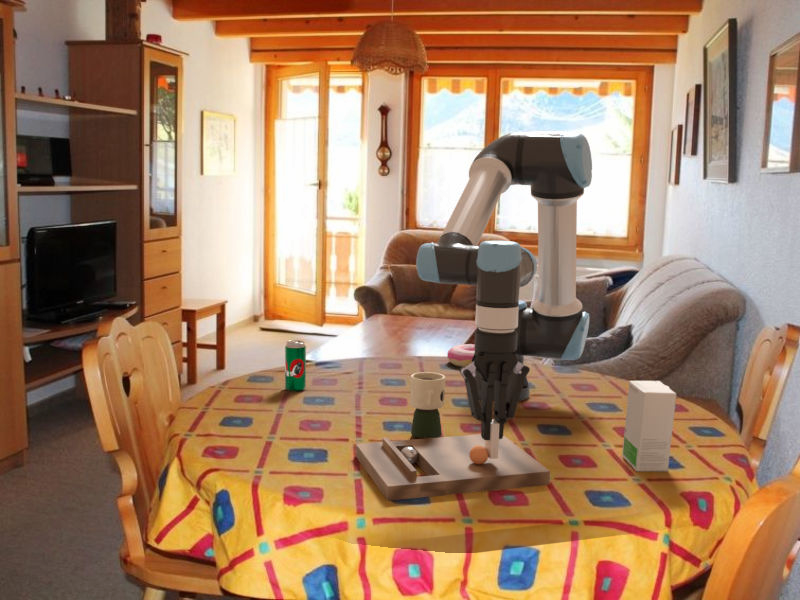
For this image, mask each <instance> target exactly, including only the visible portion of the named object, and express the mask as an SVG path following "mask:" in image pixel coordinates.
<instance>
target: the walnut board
mask: <svg viewBox="0 0 800 600" xmlns="http://www.w3.org/2000/svg"><path fill="white" fill-rule="evenodd" d="M477 445H480V446H483V447H485V440H484V439H483V438H482V437H481V433H479V434H467V435H454V436H453V435H451V436H440V437H438V438H418V439H417V438H416V439H401V440H390V438H388V437H382V441H377V442H376V441H375V442H363V443H362V442H361V443H355V457H356V459H357V460H358V461H359V463H360V464H361V466H362V468H364V470H365V471H366V473H367V474H368V475H369V477H370V478H371V480H372V481H373V482H374V484H375V486H376V487H377V488H378V489H379V491H380V492H381V493H382V495H383V496H384V498H385V499H386V500H387V501H399V500H408V499H417V498H418V499H419V498H429V497H430V498H431V497H436V496H449V495H450V496H451V495H459V494H460V495H461V494H468V493H478V492H480V493H481V492H486V491H487V492H488V491H490V492H491V491H499V490H508V489H519V488H526V487H527V488H529V487H539V486H548V485H550V483H551V482H550V481H551V479H550V478H551V470H549V469H548V468H547V467H545V466H544V465H542V463H540V461H537V460H536V459H535V458H534V457H532V456H531V455H530V454H528V453H527V452H526V451H524V450H523V449H522V448H521V447H519V446H518V445H517V444H516V443H514V442H513V441H512V440H510V439H509V438H508V437H506V436H505V435H504V434H503V438H502V439H499V447H498V458H497V459H490V458H489V457H488V459H487V461H486V462H485V463H483V464H475V463H473V462H472V461H471V459H470V455H469V454H470V450H471V449H472V448H473V447H474V446H477ZM405 447H412V448H414V449H415V450H416V451H417V453H418V459H417V461H416V462H415V464H417V465H418V466H419V467H420V469H422V471H423V472H424V473H425V475H422V476H418V475H417V473H418V471H417V469H416V468H415V467H414V466H413V464H412V465H411V464H410V462H409V461H408V460H407V459H406V458H405V457H404V456H403V454H402V453H401V451H402V449H404V448H405Z"/></svg>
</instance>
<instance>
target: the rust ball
mask: <svg viewBox="0 0 800 600" xmlns="http://www.w3.org/2000/svg"><path fill="white" fill-rule="evenodd" d="M469 455H470V459H471V461H472V462H473V463H475V464H483V463H485V462H486V461H487V459H488V451H487V449H486V448H485V447H483V446H480V445H477V446H474V447H473V448H472V449H471V450H470V454H469Z"/></svg>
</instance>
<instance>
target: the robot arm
mask: <svg viewBox="0 0 800 600" xmlns="http://www.w3.org/2000/svg"><path fill="white" fill-rule="evenodd" d="M592 171H593V160H592V151H591V148H590V145H589V142H588V138H587V137H586V136H585V135H584V134H582V133H579V132H567V131H528V132H527V131H515V132H514V131H513V132H511V133H510V132H509V133H507V134H504V135H502V136H500V137H498V138H496V139H494V140H493V141H492V142H490V143H488V145H486V146H485V147H484V148H483V149H482V150H481V151H479V153H478V154H477V155H476V157H475V158H474V159H473V160H472V163H471V165H470V167H469V170H468V181H467V183H466V185H465V188H464V190H463V191H462V193H461V195H460V197H459V199H458V201H457V203H456V205H455V206H454V208H453V211H452V213H451V215H450V218H449V219H448V221H447V223H446V225H445V227H444V229H443V231H442V233H441V235H440V237H439V238H438V239H437V241H436V242H433V241H432V242H427V243H426V242H425V243H424V244H421V245H420V247H419V248H418V250H417V254H416V261H415V262H416V263H415V265H416V266H415V267H416V272H417V275H418V278H419V279H420V280H422V281H424V282H431V283H436V284H444V285H445V284H448V285H466V286H476V294H475V295H476V301H475V326H476V329H475V330H474V344H475V345H474V349H475V353H474V356H473V358H472V363H471V364H469V365H468V366H466V367H460V368H459V370H458V372H459V373H460V375H461V377H462V378H463V379H464V385H465V389H466V394H467V400H468V404H469V408H470V414H471V417H472V418H474V419H475V420H476V421H478V422H480V423H481V425H480V426H481V427H480V434H481V437H482V438H483V439H484V440H485V448H486V449H487V451H488V457H489V458H490V459H497V458H498V447H499V439H502V438H503V435H504V429H505V428H504V426H505V425H506V424H507V422H508V420H510V419H511V420H512V419H513V418H514V417H515V415H516V411H517V408H518V403H519V402H520V401H524V400H527V399H528V398H529V397H530V384H529V379H528V377H527V376H528V374H529V373H530V367H529V366H527V365H525V364H524V361H525V360H524V358H525V357H535V358H542V359H551V360H553V359H554V360H560V361H576V360H578V359H580V358H581V357H582V354H583V352H584V349H585V347H586V346H585V345H586V341H587V337H588V333H589V327H590V319H591V318H590V313H588V312H586V311H583V302H581V301H580V300H579V299H578V298H577V232H578V231H577V224H578V223H577V221H578V219H577V216H578V214H577V213H578V209H577V208H578V200H579V199H580V198H581V197H582V196H583V195H584V194H585V193H584V192H585V188H588V187H589V186H590V185H591V183H592V179H593V172H592ZM515 185H516V186H517V185H521V186H530V195H531V197H532V198H534V199H535V201H537V239H538V241H537V242H538V243H537V245H538V246H537V247H538V248H537V256H538V257H537V258H538V264H537V259H536V257H535V255H534V254H533V253H532V252H531V251H530V249H527V248H525V247H522V246H521V244H520V243H518V242H517V241H510V240H485V241H482V242H480V241H481V239H482V237H483V234H484V233H485V229H486V228H487V226H488V224H489V221H490V219H491V217H492V215H493V213H494V211H495V208H496V206H497V205H498V203H499V200H500V198H501V195H502V194H504V193H505V192H507V190H508V189H509V188H510V187H511V186H515ZM479 243H480V244H479ZM537 268H538V270H537ZM537 271H538V298H537V299H535V300H534V301H533V302H532V305H531V306H532V307H528V304H527V302H526V300H520V288H523V287H525V286H527V285H528V284H529V283H530V282H531V281H532V279H533V278H534V277H535V276H536V273H537Z"/></svg>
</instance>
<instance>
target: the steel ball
mask: <svg viewBox="0 0 800 600" xmlns="http://www.w3.org/2000/svg"><path fill="white" fill-rule="evenodd" d="M401 453H402V454H403V456H404V457H405V458H406V459H407V460H408V461H409V462H410V464H411V465H412V466H413V465H414V464H416V461H417V459H418V453H417V451H416V450H415V449H414V448H412V447H405V448H404V449H402V451H401Z"/></svg>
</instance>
